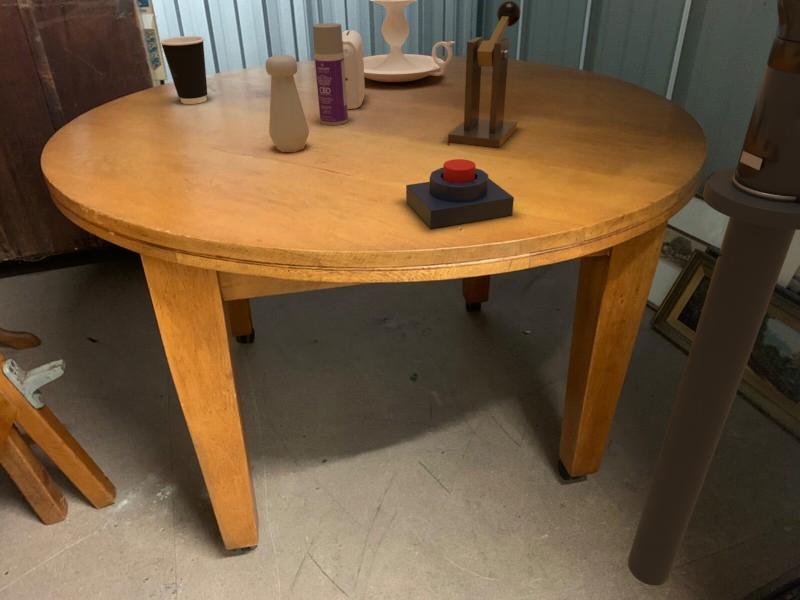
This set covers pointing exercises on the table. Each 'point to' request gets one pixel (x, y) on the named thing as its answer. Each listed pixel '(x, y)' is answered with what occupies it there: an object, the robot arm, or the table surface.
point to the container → (330, 73)
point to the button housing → (458, 200)
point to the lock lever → (498, 31)
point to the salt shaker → (285, 106)
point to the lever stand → (474, 127)
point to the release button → (459, 171)
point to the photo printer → (353, 68)
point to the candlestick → (396, 62)
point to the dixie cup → (187, 67)
